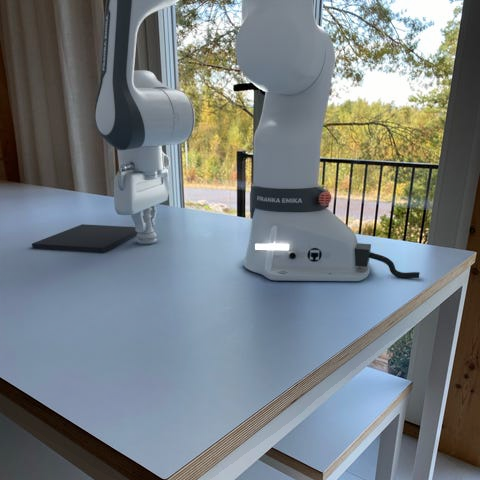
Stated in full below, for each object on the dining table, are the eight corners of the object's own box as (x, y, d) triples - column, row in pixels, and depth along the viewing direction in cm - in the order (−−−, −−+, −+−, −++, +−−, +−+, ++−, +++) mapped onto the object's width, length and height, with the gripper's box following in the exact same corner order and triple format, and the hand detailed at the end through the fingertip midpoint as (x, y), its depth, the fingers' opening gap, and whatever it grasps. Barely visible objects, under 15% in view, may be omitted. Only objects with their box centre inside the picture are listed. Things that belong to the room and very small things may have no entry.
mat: (143, 231, 112) (143, 227, 112) (103, 252, 94) (103, 247, 94) (82, 228, 116) (81, 224, 115) (32, 248, 98) (31, 243, 97)
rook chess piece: (155, 239, 105) (153, 202, 102) (158, 244, 101) (156, 206, 98) (135, 240, 104) (131, 203, 100) (137, 245, 100) (134, 207, 97)
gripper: (133, 165, 86) (139, 241, 91) (172, 157, 104) (175, 220, 110) (101, 165, 87) (109, 239, 92) (145, 157, 105) (150, 219, 111)
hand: (145, 229), depth 101 cm, fingers open, 4 cm apart
